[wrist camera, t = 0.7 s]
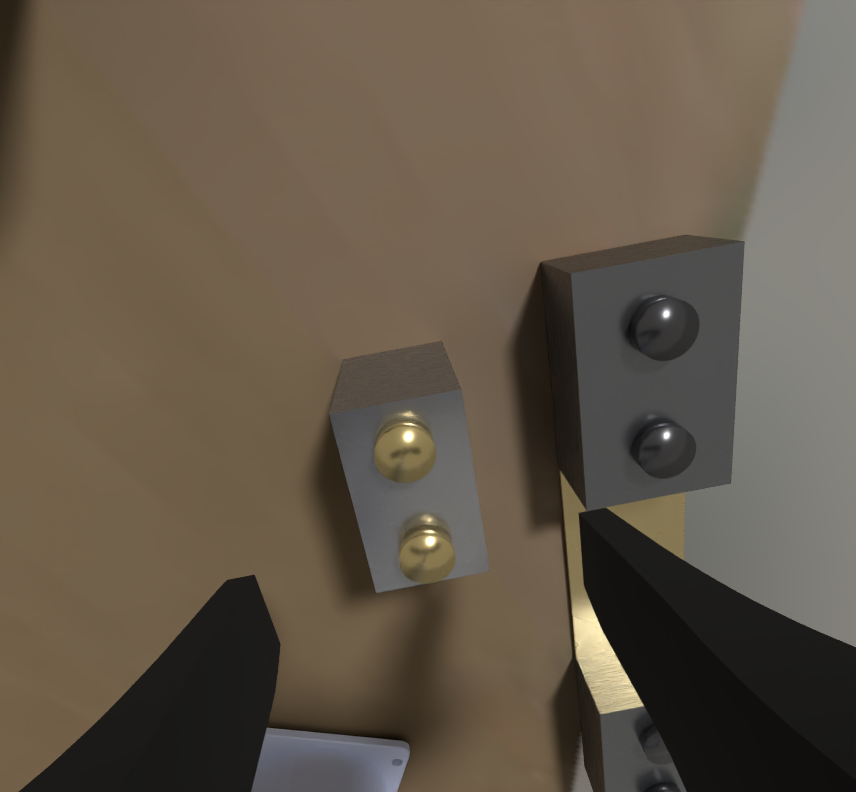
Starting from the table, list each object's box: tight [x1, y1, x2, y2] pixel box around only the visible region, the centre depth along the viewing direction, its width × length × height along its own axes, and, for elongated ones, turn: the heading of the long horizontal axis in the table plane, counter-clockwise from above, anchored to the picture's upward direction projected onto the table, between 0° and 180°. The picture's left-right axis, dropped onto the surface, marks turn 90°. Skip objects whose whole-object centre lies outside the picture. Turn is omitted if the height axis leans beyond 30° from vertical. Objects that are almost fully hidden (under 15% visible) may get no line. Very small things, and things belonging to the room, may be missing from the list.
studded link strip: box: [541, 235, 744, 792], centre depth 20 cm, size 26×5×4 cm, turn 10°
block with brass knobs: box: [329, 341, 490, 593], centre depth 16 cm, size 6×4×6 cm, turn 10°
